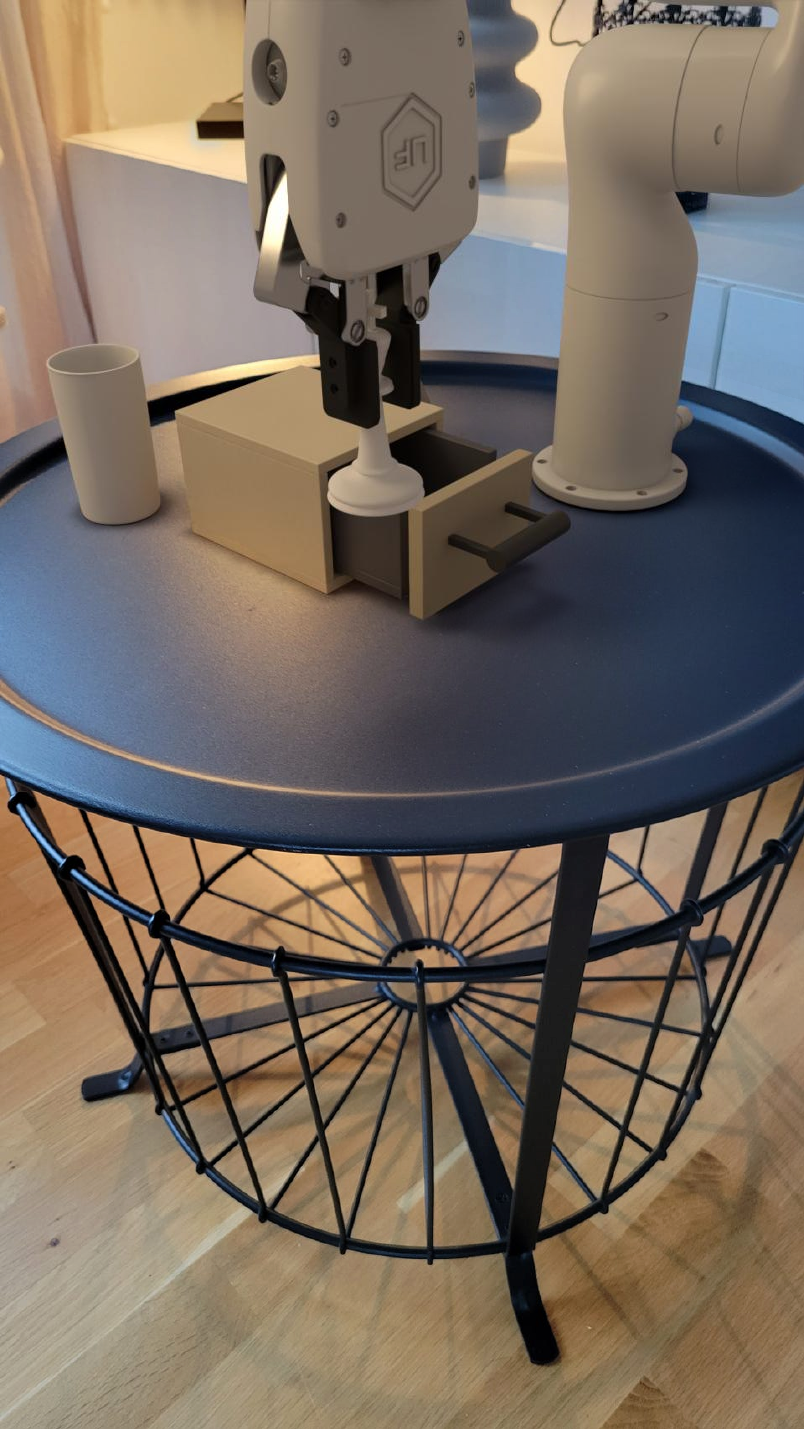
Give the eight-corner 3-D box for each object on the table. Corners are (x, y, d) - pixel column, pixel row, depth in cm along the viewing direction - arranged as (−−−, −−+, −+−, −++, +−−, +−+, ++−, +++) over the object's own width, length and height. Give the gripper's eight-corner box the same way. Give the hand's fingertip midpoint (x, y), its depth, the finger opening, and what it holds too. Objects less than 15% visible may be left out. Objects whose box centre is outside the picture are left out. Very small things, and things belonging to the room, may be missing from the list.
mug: (153, 527, 82) (127, 373, 74) (68, 527, 82) (33, 374, 75) (180, 473, 90) (158, 329, 82) (102, 473, 90) (73, 330, 83)
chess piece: (391, 526, 51) (384, 314, 45) (308, 503, 53) (290, 298, 47) (442, 486, 54) (442, 283, 48) (362, 466, 56) (352, 270, 50)
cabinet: (443, 530, 81) (444, 408, 75) (327, 594, 73) (318, 464, 67) (309, 478, 88) (301, 364, 83) (192, 532, 81) (174, 410, 75)
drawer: (583, 577, 73) (594, 471, 68) (481, 647, 66) (485, 534, 61) (387, 502, 82) (384, 405, 78) (280, 556, 76) (271, 453, 71)
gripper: (263, -52, 33) (309, 491, 44) (557, -72, 42) (533, 380, 53) (117, -53, 37) (193, 445, 48) (414, -71, 46) (420, 350, 57)
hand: (372, 408), depth 51 cm, fingers closed on chess piece
